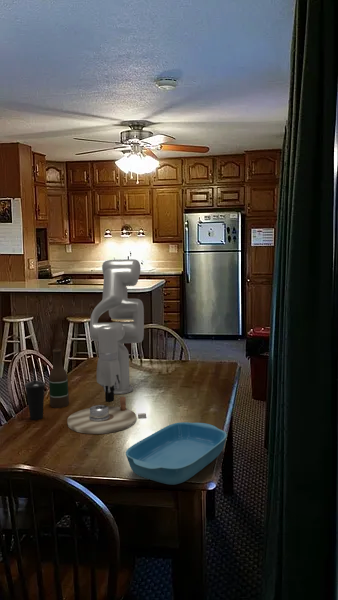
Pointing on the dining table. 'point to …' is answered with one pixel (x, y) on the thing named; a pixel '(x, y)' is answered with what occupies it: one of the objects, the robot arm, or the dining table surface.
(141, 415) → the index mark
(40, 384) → the drinking cup
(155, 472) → the casserole dish
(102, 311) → the robot arm
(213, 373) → the dining table surface
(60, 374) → the beer bottle
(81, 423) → the turntable
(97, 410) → the cover
